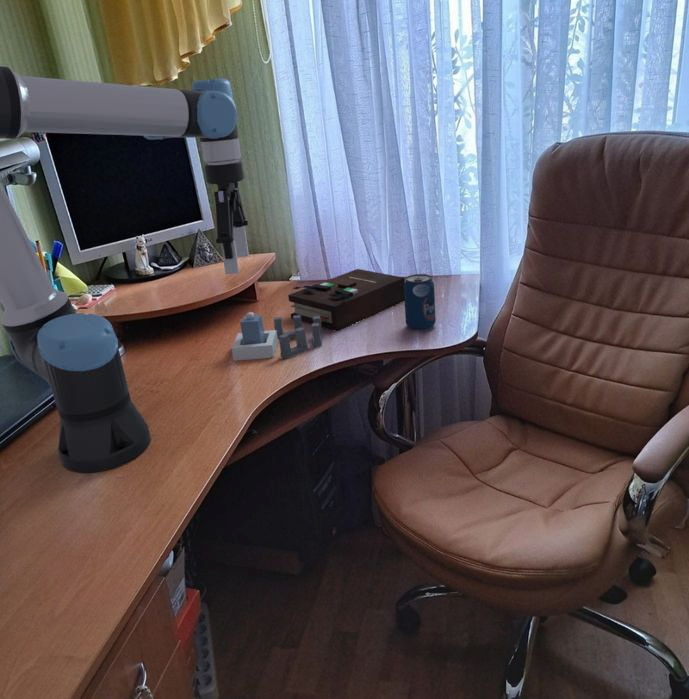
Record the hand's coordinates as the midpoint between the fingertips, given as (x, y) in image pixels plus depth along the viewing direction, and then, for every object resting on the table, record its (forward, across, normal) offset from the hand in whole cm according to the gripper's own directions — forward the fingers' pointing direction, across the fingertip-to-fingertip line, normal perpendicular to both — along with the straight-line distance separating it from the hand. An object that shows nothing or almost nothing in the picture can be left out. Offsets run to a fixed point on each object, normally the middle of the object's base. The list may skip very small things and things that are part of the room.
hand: (237, 264), depth 141 cm
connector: (+21, -2, +1) cm, 21 cm away
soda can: (+21, -8, +39) cm, 45 cm away
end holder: (+21, -2, +1) cm, 21 cm away
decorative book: (+21, -25, +22) cm, 39 cm away
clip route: (+21, -3, +10) cm, 23 cm away
